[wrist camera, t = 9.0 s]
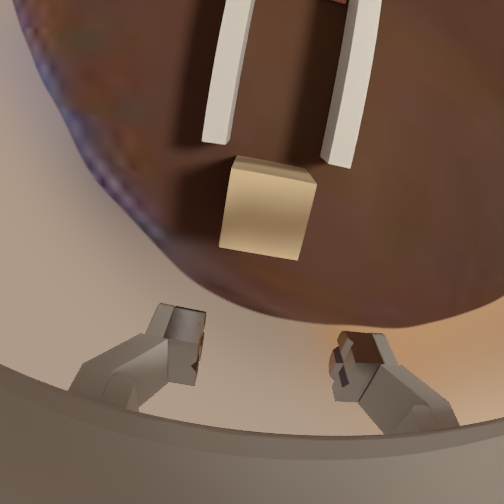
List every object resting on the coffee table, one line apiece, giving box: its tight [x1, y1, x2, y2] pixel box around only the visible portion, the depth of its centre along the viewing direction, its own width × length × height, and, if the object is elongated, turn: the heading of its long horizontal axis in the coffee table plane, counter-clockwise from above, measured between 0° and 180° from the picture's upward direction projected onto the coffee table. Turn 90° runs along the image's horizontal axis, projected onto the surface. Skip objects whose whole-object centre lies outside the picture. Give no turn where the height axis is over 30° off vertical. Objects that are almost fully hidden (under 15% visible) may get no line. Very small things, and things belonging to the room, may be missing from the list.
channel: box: [202, 0, 382, 168], centre depth 17 cm, size 18×10×3 cm, turn 171°
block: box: [219, 155, 317, 261], centre depth 22 cm, size 5×5×5 cm
